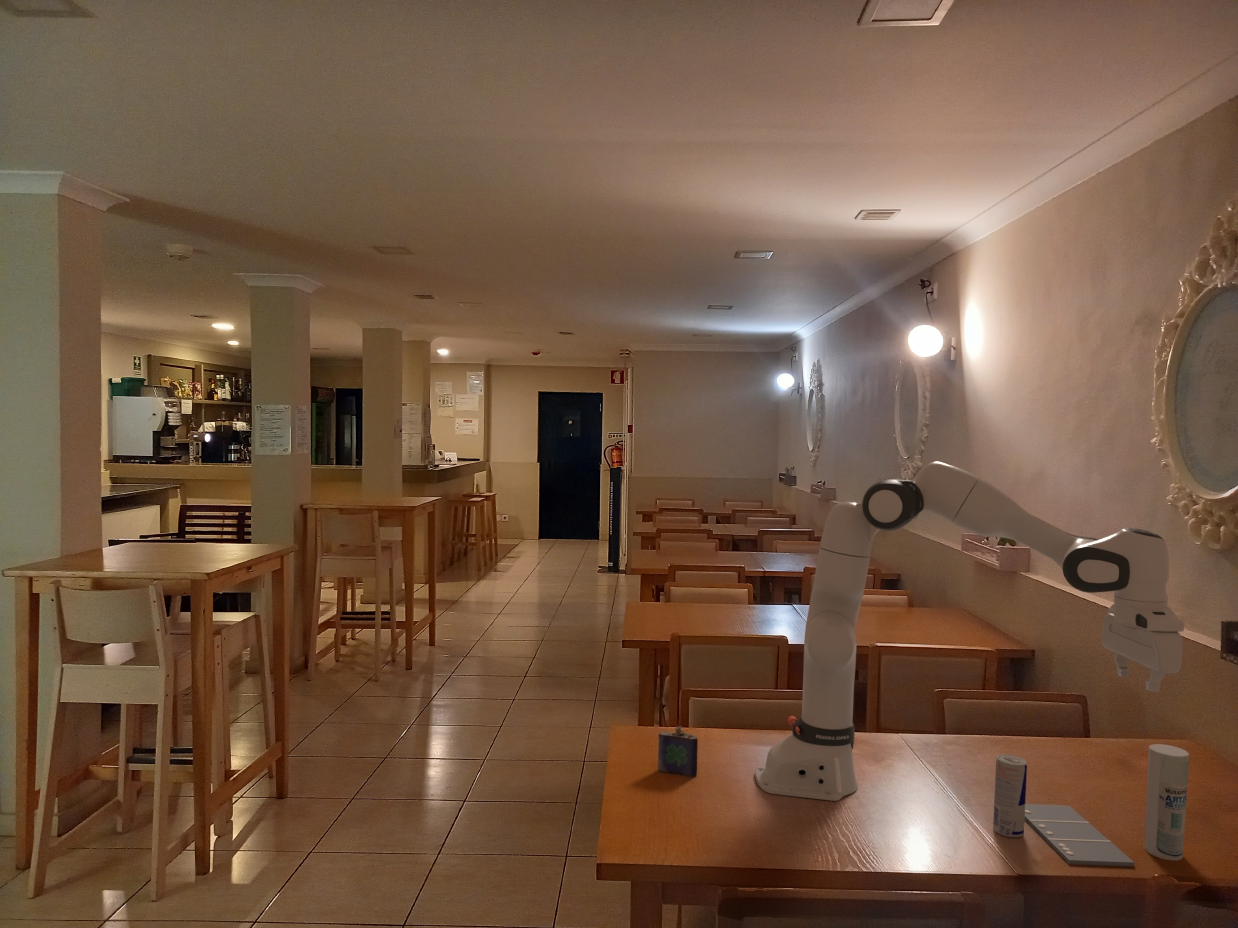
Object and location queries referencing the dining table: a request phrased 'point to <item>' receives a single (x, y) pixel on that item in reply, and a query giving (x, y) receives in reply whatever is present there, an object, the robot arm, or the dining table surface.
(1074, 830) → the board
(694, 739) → the flask
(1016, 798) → the beverage can
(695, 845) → the dining table surface
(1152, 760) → the spray can
